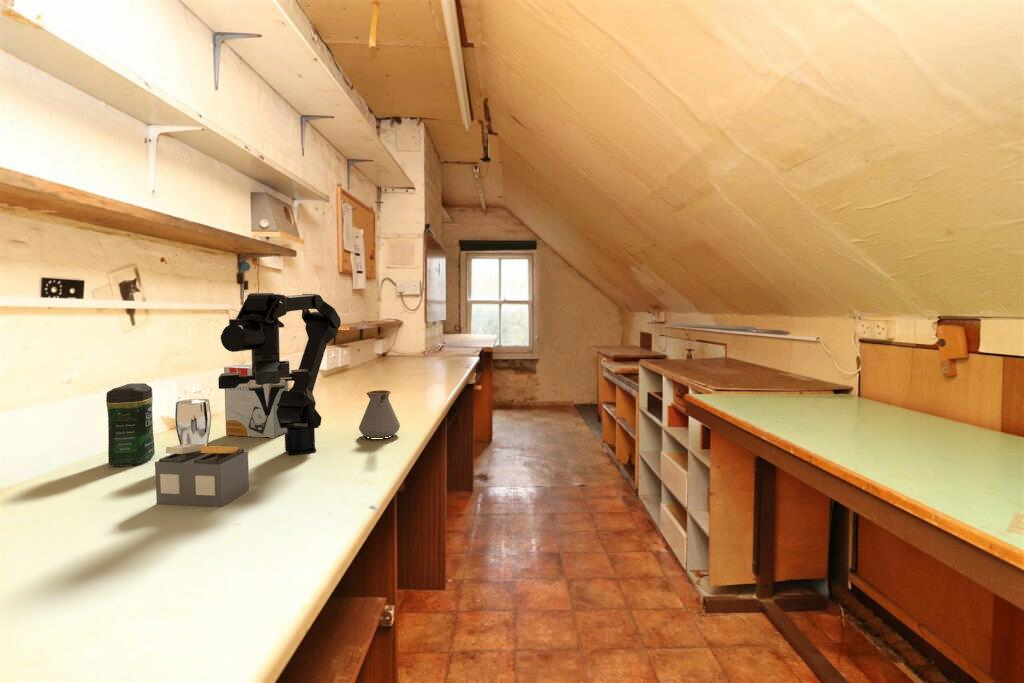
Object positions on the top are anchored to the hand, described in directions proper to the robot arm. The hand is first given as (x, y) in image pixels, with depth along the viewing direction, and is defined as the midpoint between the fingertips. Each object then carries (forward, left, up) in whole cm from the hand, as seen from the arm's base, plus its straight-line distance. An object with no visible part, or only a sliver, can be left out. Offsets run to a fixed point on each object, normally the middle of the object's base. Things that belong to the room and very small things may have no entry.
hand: (267, 415), depth 111 cm
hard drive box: (+1, -34, -12) cm, 36 cm away
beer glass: (+15, -10, -12) cm, 22 cm away
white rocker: (+15, +12, -2) cm, 19 cm away
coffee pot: (-29, -10, -12) cm, 33 cm away
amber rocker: (+9, +16, -2) cm, 19 cm away
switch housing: (+12, +14, -12) cm, 22 cm away
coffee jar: (+28, -20, -12) cm, 37 cm away
